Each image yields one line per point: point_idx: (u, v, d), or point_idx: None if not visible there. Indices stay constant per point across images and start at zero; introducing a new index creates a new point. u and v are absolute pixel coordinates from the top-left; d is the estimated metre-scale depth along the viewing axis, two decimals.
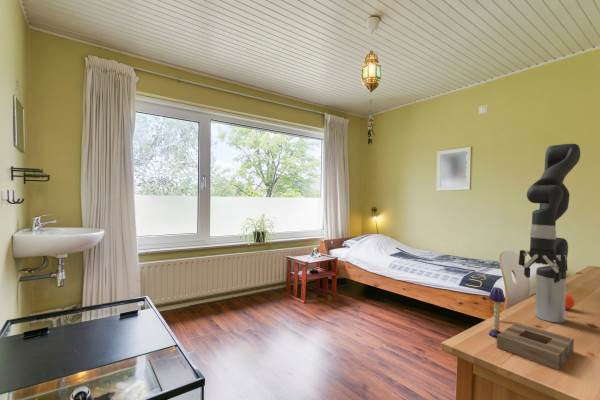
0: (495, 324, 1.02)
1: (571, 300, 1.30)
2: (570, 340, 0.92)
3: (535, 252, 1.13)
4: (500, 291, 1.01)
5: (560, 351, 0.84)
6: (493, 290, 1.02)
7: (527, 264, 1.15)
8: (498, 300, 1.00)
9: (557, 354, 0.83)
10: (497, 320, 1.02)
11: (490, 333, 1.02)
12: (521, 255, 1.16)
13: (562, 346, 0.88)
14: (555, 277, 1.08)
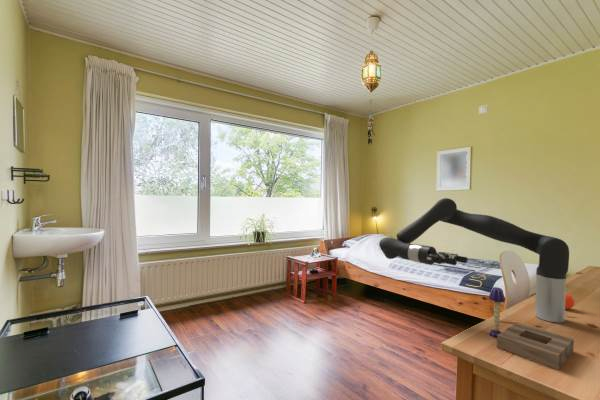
0: (495, 324, 1.02)
1: (571, 300, 1.30)
2: (570, 340, 0.92)
3: None
4: (500, 291, 1.01)
5: (560, 351, 0.84)
6: (493, 290, 1.02)
7: None
8: (498, 300, 1.00)
9: (557, 354, 0.83)
10: (497, 320, 1.02)
11: (490, 333, 1.02)
12: None
13: (562, 346, 0.88)
14: None
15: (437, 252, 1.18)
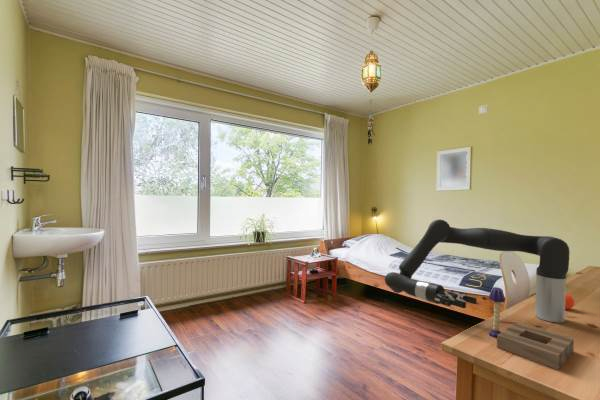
0: (495, 324, 1.02)
1: (571, 300, 1.30)
2: (570, 340, 0.92)
3: None
4: (500, 291, 1.01)
5: (560, 351, 0.84)
6: (493, 290, 1.02)
7: None
8: (498, 300, 1.00)
9: (557, 354, 0.83)
10: (497, 320, 1.02)
11: (490, 333, 1.02)
12: None
13: (562, 346, 0.88)
14: (459, 306, 1.08)
15: (445, 292, 1.15)
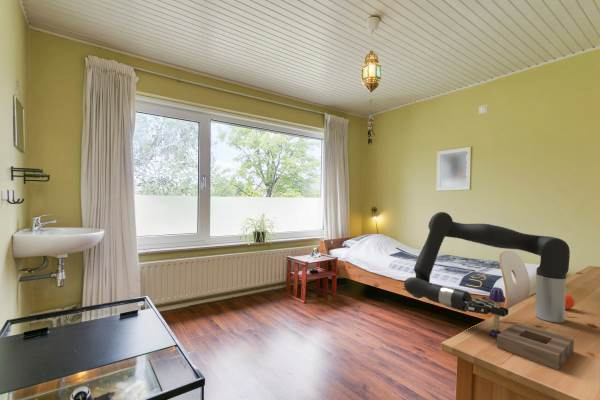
0: (495, 324, 1.02)
1: (571, 300, 1.30)
2: (570, 340, 0.92)
3: None
4: (500, 291, 1.00)
5: (560, 351, 0.84)
6: (493, 290, 1.02)
7: None
8: (498, 300, 1.00)
9: (557, 354, 0.83)
10: (497, 320, 1.02)
11: (490, 333, 1.02)
12: None
13: (562, 346, 0.88)
14: (498, 314, 1.01)
15: (473, 299, 1.07)
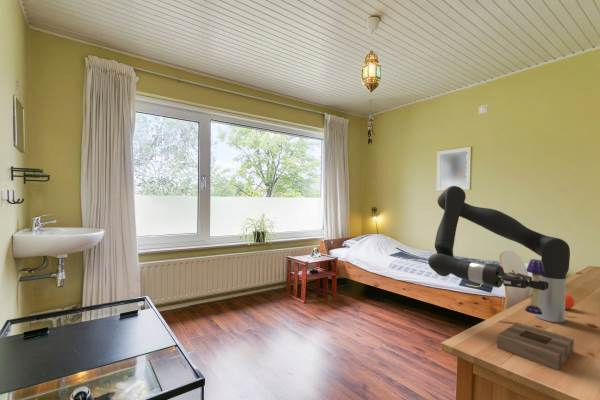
0: (533, 299, 0.93)
1: (571, 300, 1.30)
2: (570, 340, 0.92)
3: None
4: (540, 262, 0.92)
5: (560, 351, 0.84)
6: (532, 262, 0.93)
7: None
8: (538, 272, 0.92)
9: (557, 354, 0.83)
10: (536, 294, 0.93)
11: (527, 309, 0.94)
12: None
13: (562, 346, 0.88)
14: (537, 288, 0.92)
15: (507, 273, 0.99)
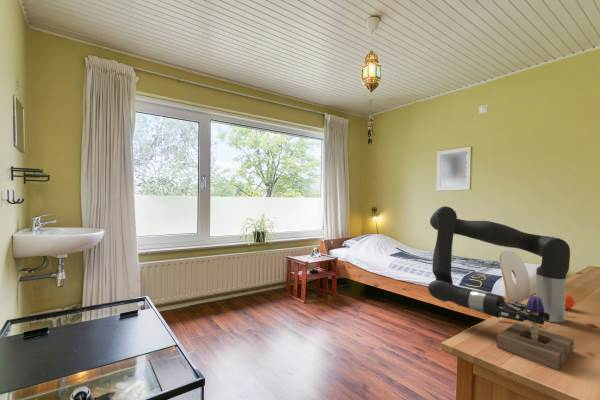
0: (533, 337, 0.93)
1: (571, 300, 1.30)
2: (570, 340, 0.92)
3: None
4: (539, 301, 0.92)
5: (560, 351, 0.84)
6: (531, 299, 0.93)
7: None
8: (537, 310, 0.91)
9: (557, 354, 0.83)
10: (536, 332, 0.93)
11: None
12: None
13: (562, 346, 0.88)
14: (535, 322, 0.91)
15: (508, 304, 0.99)
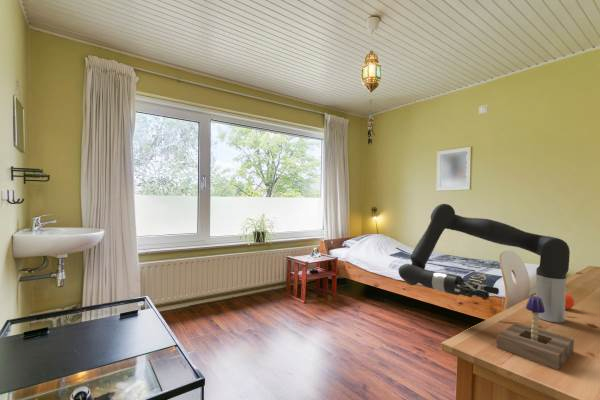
0: (533, 337, 0.93)
1: (571, 300, 1.30)
2: (570, 340, 0.92)
3: None
4: (539, 301, 0.92)
5: (560, 351, 0.84)
6: (531, 299, 0.93)
7: None
8: (537, 311, 0.91)
9: (557, 354, 0.83)
10: (536, 332, 0.93)
11: None
12: None
13: (562, 346, 0.88)
14: (482, 297, 1.02)
15: (465, 282, 1.10)
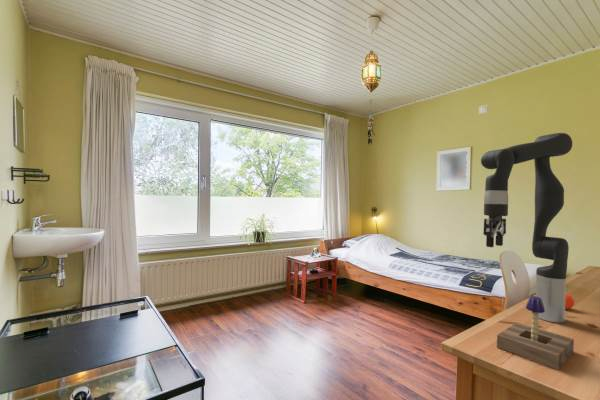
0: (533, 337, 0.93)
1: (571, 300, 1.30)
2: (570, 340, 0.92)
3: None
4: (539, 301, 0.92)
5: (560, 351, 0.84)
6: (531, 299, 0.93)
7: None
8: (537, 311, 0.91)
9: (557, 354, 0.83)
10: (536, 332, 0.93)
11: None
12: None
13: (562, 346, 0.88)
14: (486, 241, 1.09)
15: (500, 222, 1.08)
